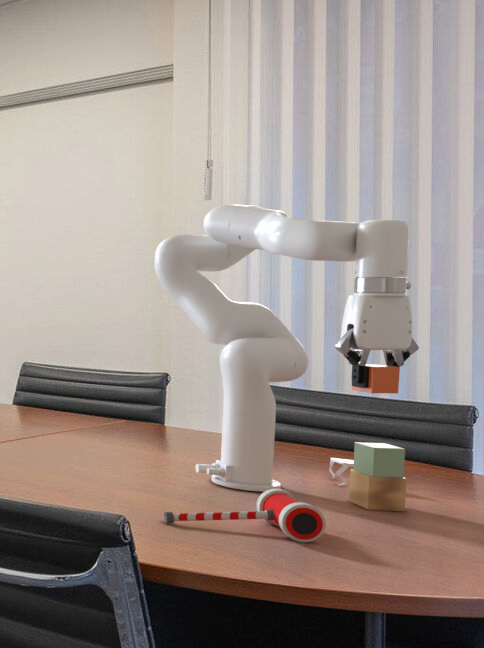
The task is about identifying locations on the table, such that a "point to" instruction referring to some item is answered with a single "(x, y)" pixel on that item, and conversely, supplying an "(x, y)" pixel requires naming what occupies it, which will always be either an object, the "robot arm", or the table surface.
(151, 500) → the table surface
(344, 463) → the origami figure
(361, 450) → the middle block
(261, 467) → the robot arm
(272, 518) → the toy hammer
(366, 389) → the top block
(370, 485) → the base block
